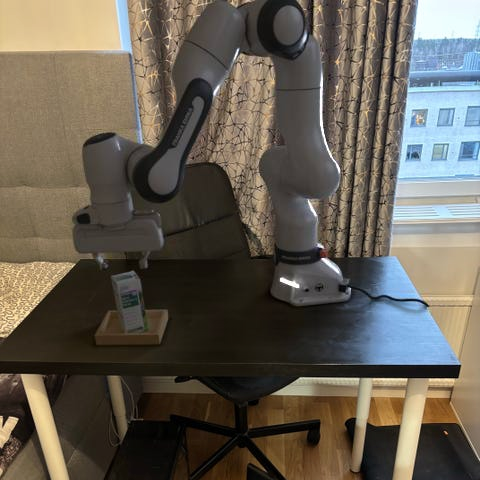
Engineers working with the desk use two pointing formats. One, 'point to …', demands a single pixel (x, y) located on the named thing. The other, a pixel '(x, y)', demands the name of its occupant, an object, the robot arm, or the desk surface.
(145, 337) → the tray
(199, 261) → the desk surface
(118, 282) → the syrup box
